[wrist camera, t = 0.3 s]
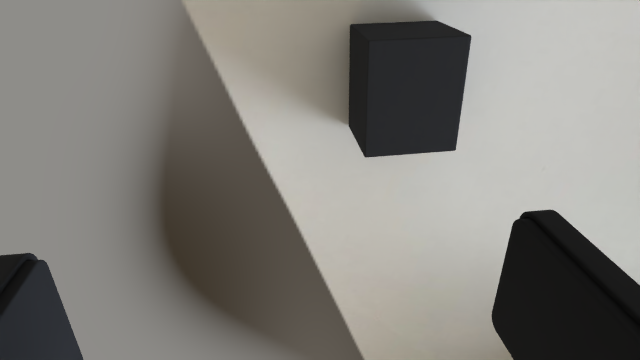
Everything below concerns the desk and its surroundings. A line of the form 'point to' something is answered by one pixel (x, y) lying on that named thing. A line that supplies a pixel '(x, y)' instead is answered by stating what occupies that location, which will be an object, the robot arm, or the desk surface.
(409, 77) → the dark grey block
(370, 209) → the desk surface
